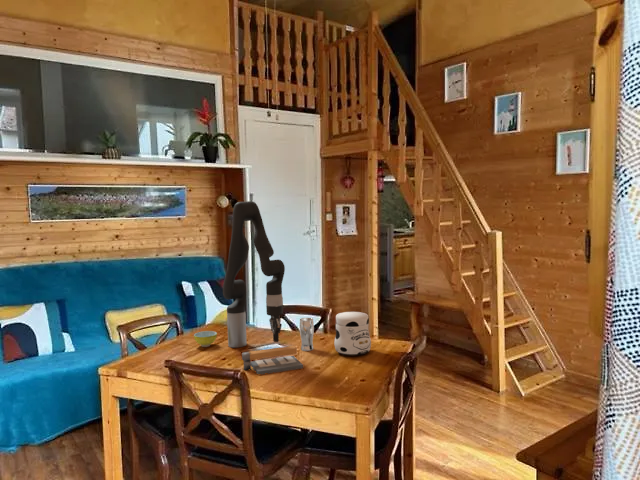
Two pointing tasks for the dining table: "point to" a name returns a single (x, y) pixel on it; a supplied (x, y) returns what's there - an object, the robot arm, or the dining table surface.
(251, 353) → the swing bar
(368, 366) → the dining table surface
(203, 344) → the bowl
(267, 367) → the label board
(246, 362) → the post
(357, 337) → the milk container
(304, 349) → the beer glass
